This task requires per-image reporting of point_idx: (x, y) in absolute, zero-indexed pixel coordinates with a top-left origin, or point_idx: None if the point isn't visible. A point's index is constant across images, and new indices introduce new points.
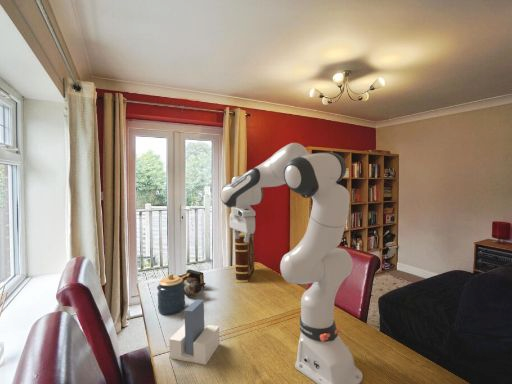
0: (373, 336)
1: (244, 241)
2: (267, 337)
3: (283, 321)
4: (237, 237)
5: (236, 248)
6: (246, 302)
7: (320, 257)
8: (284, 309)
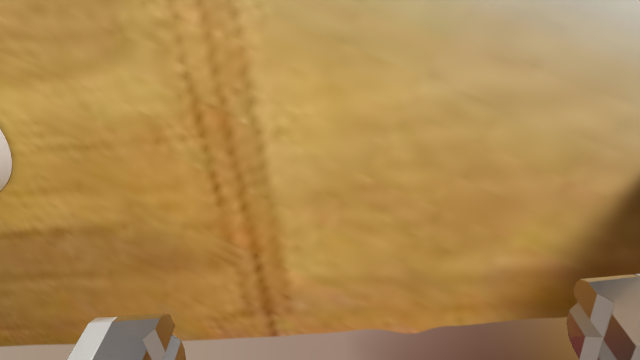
0: (47, 328)
1: (113, 326)
2: (98, 40)
3: (201, 152)
4: (591, 322)
5: None
6: (442, 73)
7: None
8: (292, 197)
